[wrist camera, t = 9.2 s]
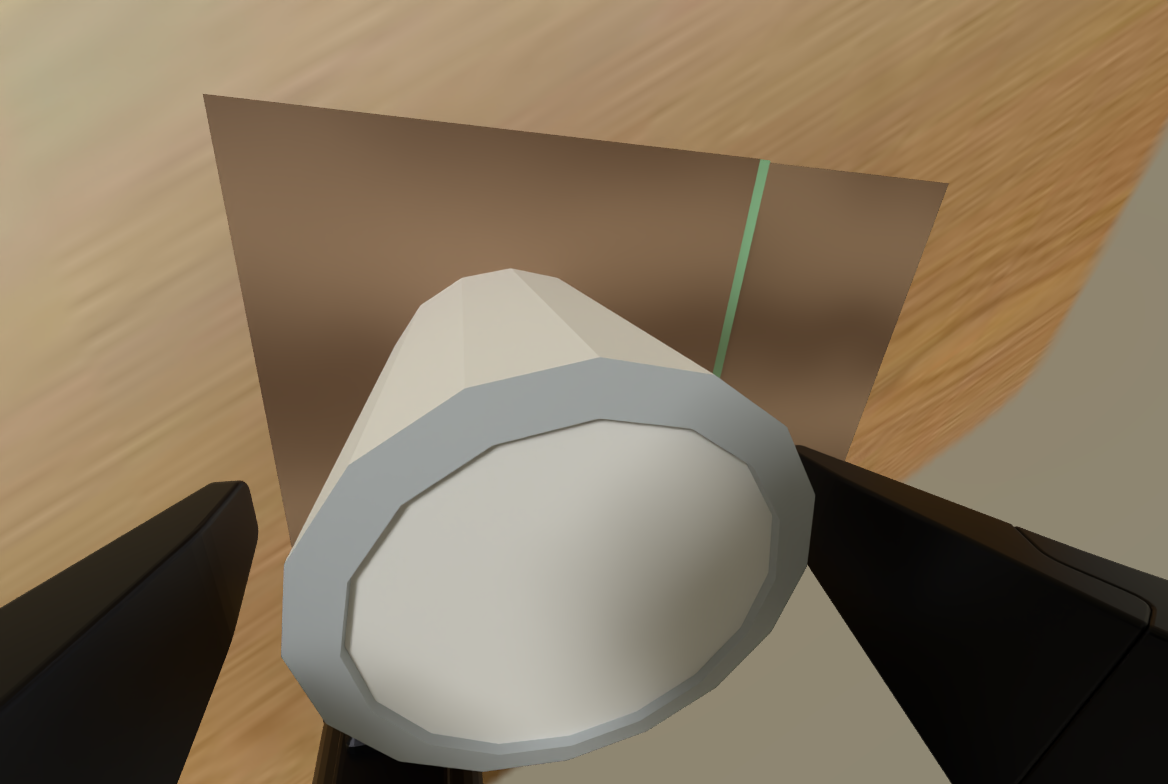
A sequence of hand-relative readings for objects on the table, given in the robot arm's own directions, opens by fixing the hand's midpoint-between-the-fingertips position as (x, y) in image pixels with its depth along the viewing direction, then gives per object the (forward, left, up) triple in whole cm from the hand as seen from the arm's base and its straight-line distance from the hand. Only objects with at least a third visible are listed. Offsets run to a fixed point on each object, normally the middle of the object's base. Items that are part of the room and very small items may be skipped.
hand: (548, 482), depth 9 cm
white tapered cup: (0, 0, -5) cm, 5 cm away
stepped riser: (0, -4, -8) cm, 9 cm away
